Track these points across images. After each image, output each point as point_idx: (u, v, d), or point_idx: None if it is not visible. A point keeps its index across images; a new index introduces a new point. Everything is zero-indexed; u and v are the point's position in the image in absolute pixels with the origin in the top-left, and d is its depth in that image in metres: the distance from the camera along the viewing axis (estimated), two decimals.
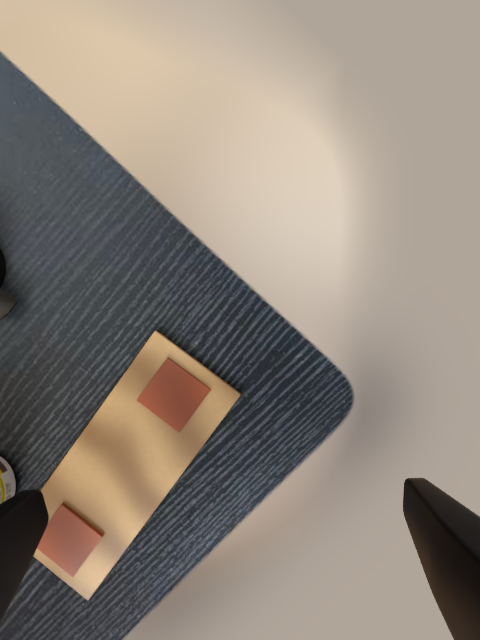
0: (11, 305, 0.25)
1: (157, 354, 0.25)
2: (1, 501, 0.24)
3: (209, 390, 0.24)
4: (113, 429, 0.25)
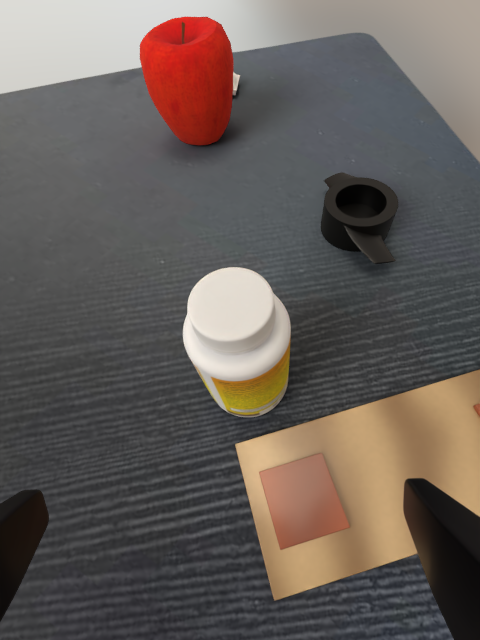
0: (390, 259, 0.26)
1: None
2: (276, 399, 0.21)
3: None
4: (426, 417, 0.21)
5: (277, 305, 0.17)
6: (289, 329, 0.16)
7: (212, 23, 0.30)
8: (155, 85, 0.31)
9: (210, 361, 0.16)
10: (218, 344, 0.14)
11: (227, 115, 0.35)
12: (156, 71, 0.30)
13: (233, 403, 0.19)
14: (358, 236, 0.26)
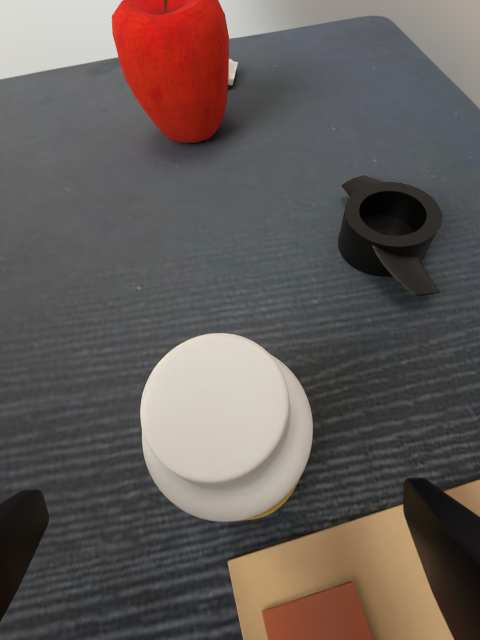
0: (433, 290, 0.20)
1: None
2: (285, 500, 0.15)
3: None
4: None
5: (291, 388, 0.10)
6: (311, 430, 0.10)
7: None
8: (131, 66, 0.25)
9: (181, 492, 0.09)
10: (192, 481, 0.08)
11: (222, 106, 0.29)
12: (132, 49, 0.24)
13: None
14: (390, 259, 0.20)
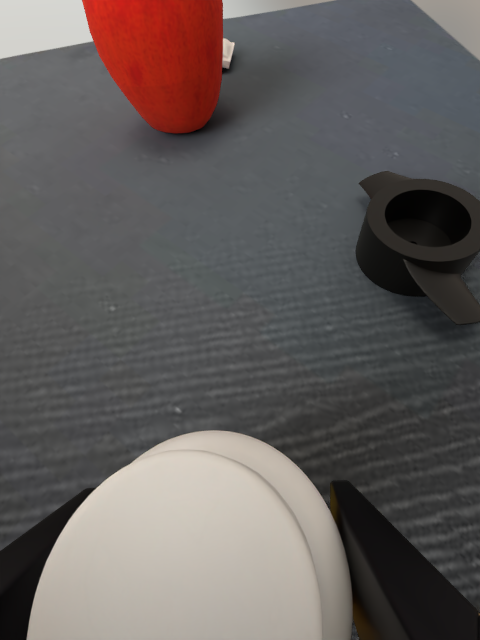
0: None
1: None
2: None
3: None
4: None
5: (315, 525, 0.06)
6: (351, 606, 0.06)
7: None
8: (103, 38, 0.20)
9: None
10: None
11: (215, 89, 0.25)
12: (102, 15, 0.19)
13: None
14: (426, 276, 0.16)
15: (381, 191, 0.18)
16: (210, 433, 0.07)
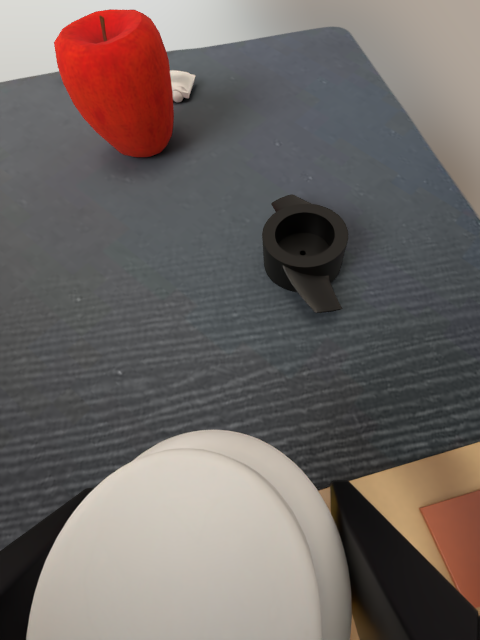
0: (335, 307, 0.21)
1: (477, 470, 0.17)
2: None
3: None
4: None
5: (314, 524, 0.06)
6: (350, 604, 0.06)
7: (137, 17, 0.26)
8: (73, 90, 0.26)
9: None
10: None
11: (167, 124, 0.30)
12: (71, 75, 0.25)
13: None
14: (298, 278, 0.22)
15: (277, 213, 0.24)
16: (210, 432, 0.07)
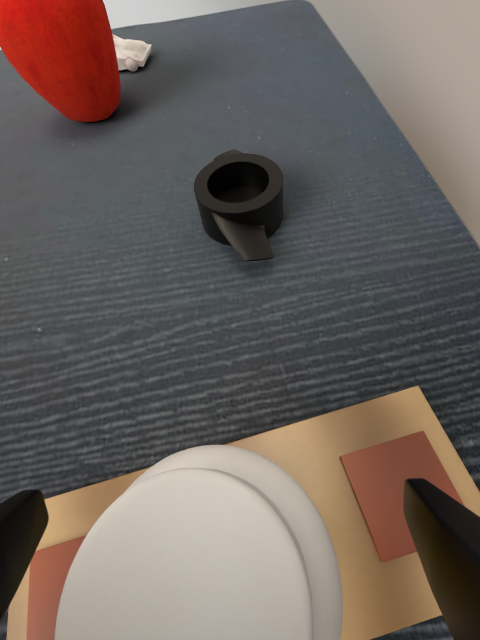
0: (267, 256, 0.20)
1: (405, 417, 0.16)
2: None
3: None
4: None
5: (309, 534, 0.07)
6: (341, 607, 0.06)
7: None
8: (2, 41, 0.25)
9: None
10: None
11: (110, 84, 0.29)
12: None
13: None
14: (228, 226, 0.21)
15: (212, 163, 0.23)
16: (213, 448, 0.08)
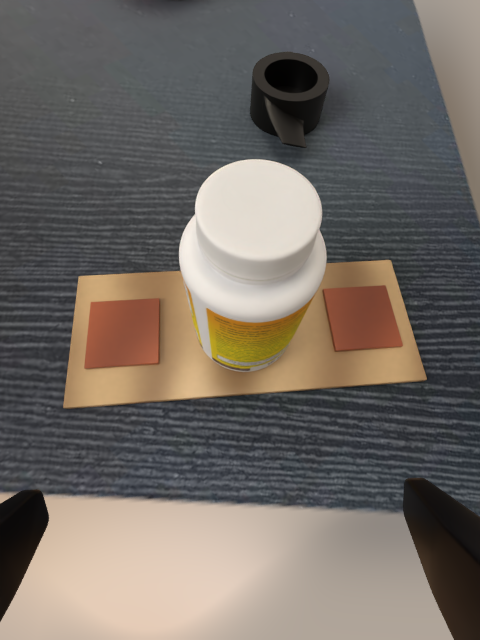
0: (300, 144, 0.24)
1: (375, 276, 0.21)
2: (274, 357, 0.17)
3: (400, 345, 0.19)
4: None
5: None
6: (324, 269, 0.12)
7: None
8: None
9: (210, 286, 0.11)
10: (230, 262, 0.10)
11: None
12: None
13: (223, 350, 0.15)
14: (275, 111, 0.24)
15: (271, 55, 0.26)
16: None
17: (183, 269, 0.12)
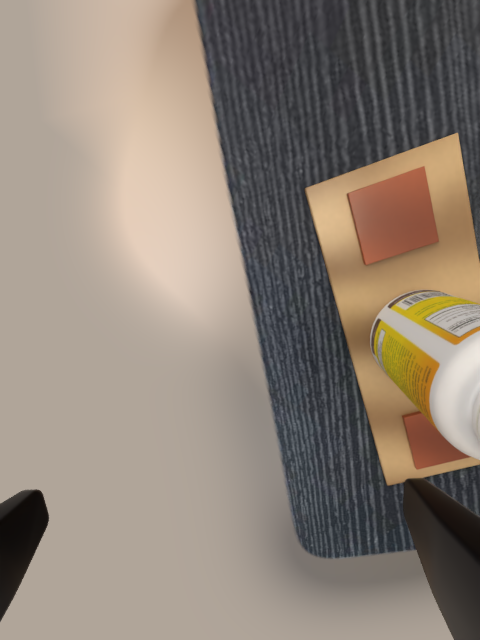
0: None
1: None
2: (389, 377, 0.18)
3: (416, 467, 0.22)
4: None
5: None
6: None
7: None
8: None
9: (465, 375, 0.11)
10: None
11: None
12: None
13: (392, 346, 0.16)
14: None
15: None
16: None
17: None
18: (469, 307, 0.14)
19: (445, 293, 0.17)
